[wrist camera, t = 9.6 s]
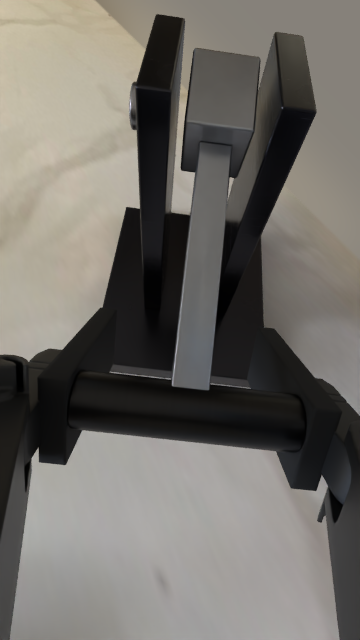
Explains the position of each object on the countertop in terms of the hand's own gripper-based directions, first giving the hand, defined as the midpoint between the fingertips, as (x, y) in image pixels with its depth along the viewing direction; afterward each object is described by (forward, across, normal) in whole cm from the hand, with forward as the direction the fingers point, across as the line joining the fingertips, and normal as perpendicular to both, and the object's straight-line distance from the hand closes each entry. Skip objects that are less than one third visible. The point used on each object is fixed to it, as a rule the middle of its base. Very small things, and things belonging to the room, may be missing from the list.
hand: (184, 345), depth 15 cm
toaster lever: (-2, 0, +4) cm, 5 cm away
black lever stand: (+8, 0, +1) cm, 8 cm away
